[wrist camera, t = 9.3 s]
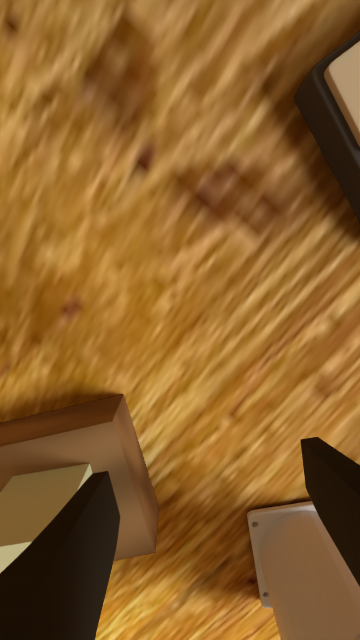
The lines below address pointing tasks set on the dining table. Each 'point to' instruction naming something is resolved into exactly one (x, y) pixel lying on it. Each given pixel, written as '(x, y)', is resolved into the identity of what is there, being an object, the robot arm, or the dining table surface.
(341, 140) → the red cream box
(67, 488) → the sage cube
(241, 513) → the dining table surface
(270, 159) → the dining table surface
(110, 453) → the walnut riser
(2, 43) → the dining table surface
